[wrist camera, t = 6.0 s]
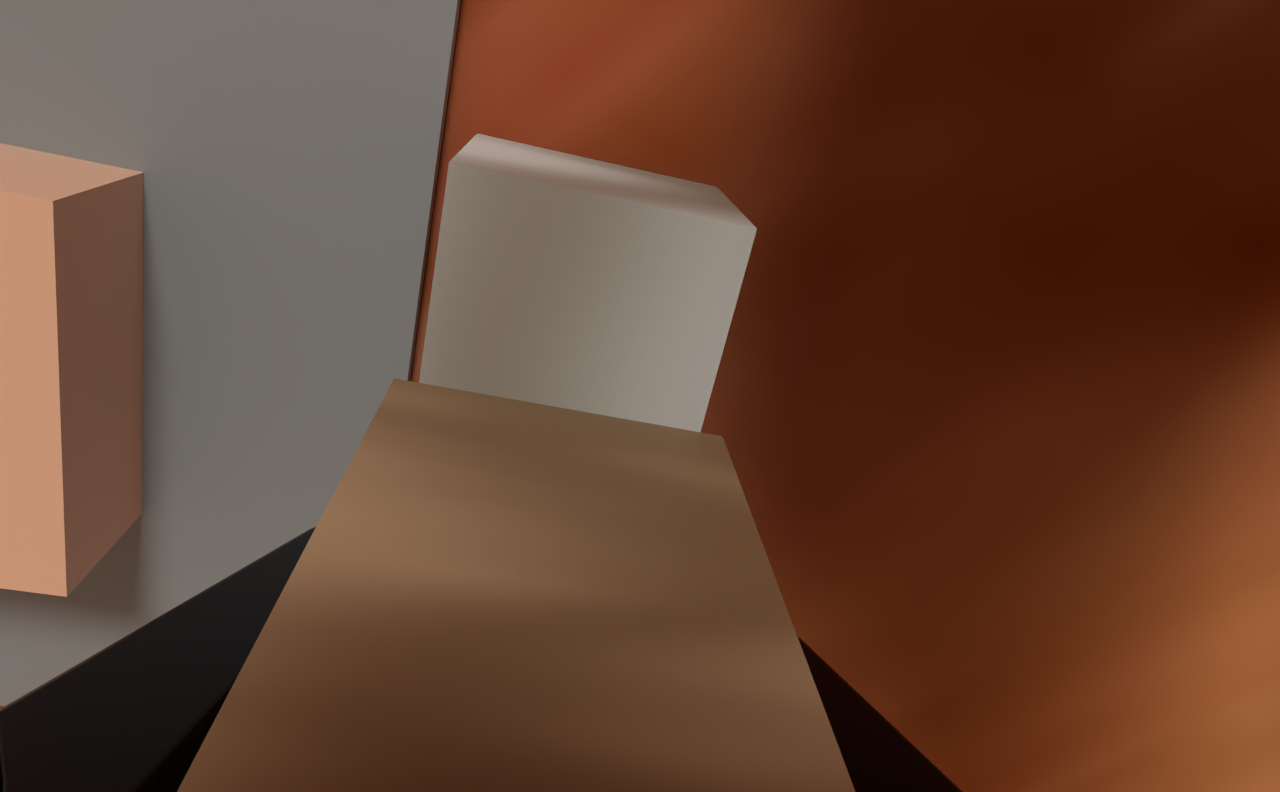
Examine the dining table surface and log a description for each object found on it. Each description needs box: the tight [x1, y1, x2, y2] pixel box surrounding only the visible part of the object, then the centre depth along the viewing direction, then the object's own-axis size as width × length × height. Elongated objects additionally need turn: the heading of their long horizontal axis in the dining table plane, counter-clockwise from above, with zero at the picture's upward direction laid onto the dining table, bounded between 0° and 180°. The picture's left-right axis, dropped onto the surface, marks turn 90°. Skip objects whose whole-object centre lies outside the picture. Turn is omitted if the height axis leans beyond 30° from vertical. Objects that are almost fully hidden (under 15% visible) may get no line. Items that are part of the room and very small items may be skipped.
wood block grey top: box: [177, 134, 855, 792], centre depth 8 cm, size 4×8×9 cm, turn 167°
